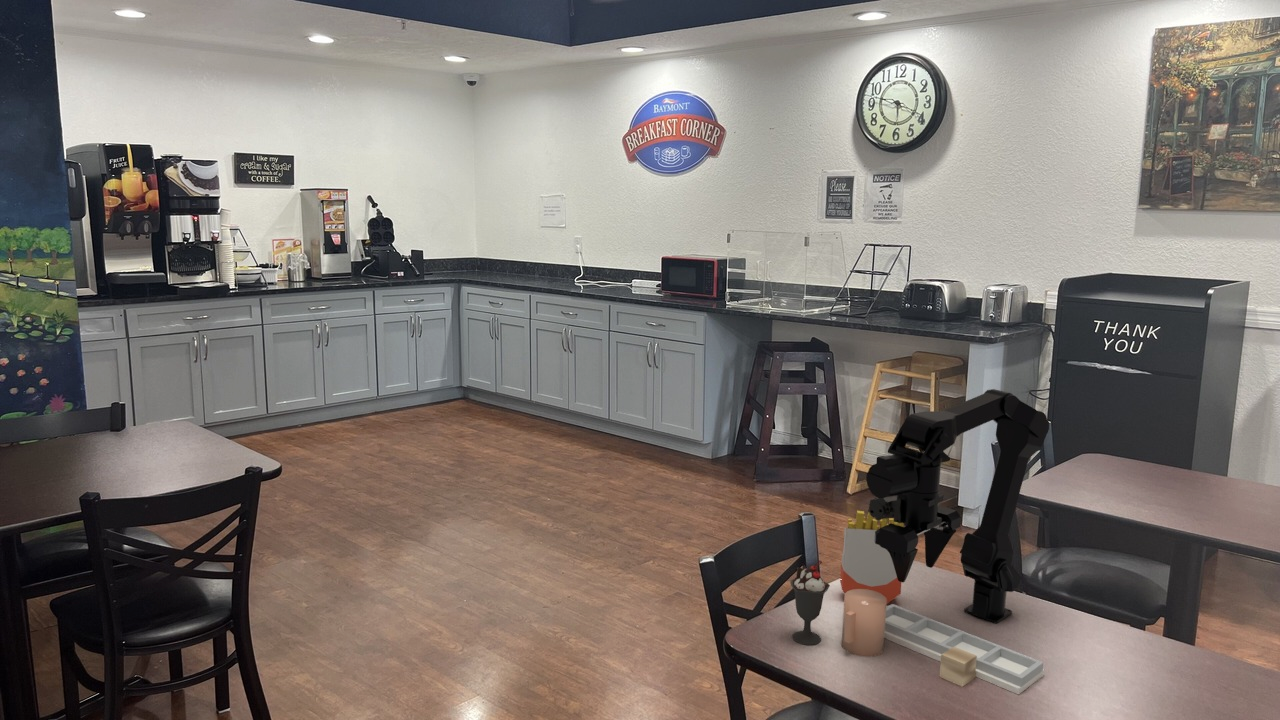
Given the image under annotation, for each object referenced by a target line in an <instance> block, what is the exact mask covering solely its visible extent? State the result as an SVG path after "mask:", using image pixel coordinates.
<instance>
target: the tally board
mask: <svg viewBox="0 0 1280 720" xmlns="http://www.w3.org/2000/svg"><path fill="white" fill-rule="evenodd" d="M885 639H886V640H888V641H890V642H892V643H895V644H898V645H900V646H903V647H905V648H906V649H909V650H912V651H914V652H916V653H919V654H920V655H921V654H922V655H924V656H925V657H928V658H931V659H933V660H935V661H937V662H939V663H941V654H943V653H944V652H946V651H948V650H949V649H951V648H952V647H956V648H959V649H961V650H964V651H966V652H969V653H971V654H974V655H976V656H977V660H976V671H975V678H978V679H981V680H983V681H985V682H988V683H991V684H993V685H995V686H996V687H997V686H998V687H999V688H1002V689H1004V690H1007V691H1009V692H1011V693H1013V694H1016V695H1020V694H1021V693H1022V692H1024V691H1025V690H1026V689H1027V688H1029V687H1031V686H1032V685H1033V684H1034V683H1036V682H1037V681H1039V680H1040V679H1041V678H1042V677H1044V675H1045V669H1044V661H1041V660H1038V659H1035V658H1033V657H1030V656H1028V655H1025V654H1023V653H1021V652H1018V651H1015V650H1013V649H1010V648H1007V647H1005V646H1003V645H1000V644H998V643H994V642H992V641H990V640H986V639H984V638H982V637H979V636H976V635H974V634H971V633H968V632H966V631H963V630H962V629H959V628H955V627H954V626H950V625H948V624H946V623H943V622H940V621H937V620H935V619H932V618H930V617H928V616H925V615H922V614H920V613H917V612H914V611H913V610H909V609H907V608H904V607H901V606H900V605H896V604H893V603H891V604H890V605H886V619H885V633H884V640H885Z"/></svg>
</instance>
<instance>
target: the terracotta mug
mask: <svg viewBox="0 0 1280 720" xmlns="http://www.w3.org/2000/svg"><path fill="white" fill-rule="evenodd" d="M843 599H844V601H843V614H842V616H843V617H842V631H841V632H842V634H841V647H842V649H843V650H845V651H846V652H847V651H848V653H849V652H850V653H849V654H851V655H854V656H859V657H865V658H866V657H867V658H870V657H871V656H872V657H876V656H880V655H881V654H882V653H883V652H884V648H885V647H884V645H885V643H884V642H885V638H884V633H885V619H886V607H887V604H888V603H887V599H886V597H885V596H884V595H882V594H881V593H878V592H876V591H873V590H868V589H853V590H849V591H847V592H846V593H845V592H844V598H843ZM872 657H871V658H872Z"/></svg>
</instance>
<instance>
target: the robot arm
mask: <svg viewBox="0 0 1280 720" xmlns="http://www.w3.org/2000/svg"><path fill="white" fill-rule="evenodd" d="M991 421H993V422H995V424H997V425H996V428H995V429H996V431H995V437H996V440H997V444H998V449H999V454H998V459H997V463H996V467H995V469H994V473H993V477H992V481H991V485H990V488H989V492H988V496H987V500H986V502H985V503H986V504H985V507H984V511H983V514H982V517H981V518H982V519H981V522H980V524H979V527H977V529H975V530H974V531H973V532H972V533H970V532H966V534H965V535H964V536H963V537H964V539H963V544H962V548H961V549H960V551H959V554H960V563H961V565H962V569H963V574H964V576H965V577H966V578H967V577H968V578H970V579H972V580H974V581H973V583H974V584H973V591H972V603H971V604H970V605H968V606H966V607H964V608H963V609H964V610H963V611H964V612H965V613H967V614H969V615H973V616H975V617H978V618H981V619H983V620H986V621H988V622H992V623H995V624H996V623H999V622H1001V621H1003V620H1004V619H1006V618H1007V617H1010V615H1012V614H1013V610H1011V609H1009V608H1006V600H1007V592H1009V593H1012V592H1015V589H1017V588H1019V585H1020V582H1021V579H1022V576H1021V575H1020V573H1019V572H1018V571H1017V570H1016V568H1015V567H1014V566H1013V565H1012V561H1013V554H1014V549H1013V547H1012V543H1011V540H1010V536H1009V534H1010V533H1009V532H1010V529H1011V526H1012V522H1013V518H1014V514H1015V511H1016V507H1017V503H1018V500H1019V496H1020V493H1021V489H1022V486H1023V485H1022V484H1023V482H1024V478H1025V474H1026V471H1027V466H1028V463H1029V459H1030V458H1032V456H1034V455H1035V454H1036V453H1037V452H1038V451H1039V450H1040V449H1041V448H1042V447H1043V445H1044V442H1045V440H1046V437H1047V434H1048V433H1049V430H1050V421H1049V420H1048V418H1047V415H1046V414H1045V413H1044V411H1043V412H1042V411H1040V410H1037V409H1035V408H1033V407H1032V406H1030V405H1028V403H1025V402H1024V401H1022V400H1020V399H1019V398H1018V397H1017V396H1016V395H1014V394H1013V393H1011V392H1007V391H1004V390H1000V389H995V388H993V389H987V390H986V391H984V393H982V394H980V395H977V396H975V397H971V399H968V400H966V401H964V402H963V401H962V402H960V403H959V404H956V405H954V406H951V407H948V408H946V409H944V410H939V411H934V410H933V411H930V410H929V411H928V410H927V411H919V412H914V413H911V414H909V415H908V416H907V417H906V418H905V419H904V421H903V423H902V425H901V426H900V428H899V430H898V431H897V433H896V435H895V437H894V439H893V440H892V442H891V444H890V446H889V447H888V449H887V453H888V454H891V455H880V456H877V457H876V463H874V464H872V465H871V466H870V467H869V468H868V471H867V472H866V474H865V476H866V477H865V480H866V484H867V487H868V490H869V491H870V493H871V494H872V496H874V497H873V498H871V499H869V504H868V511H867V513H868V512H869V513H870V515H871V516H872V518H874V519H875V520H877V521H880V520H881V519H886V518H887V519H889V518H893V519H894V522H896V523H904V527H901V526H898V525H895V524H892V523H890V524H889V523H887V524H888V525H886V526H884V527H881V528H880V527H879V529H878V530H877V531H875V540H874V542H875V544H878V545H880V547H882V548H885V549H886V550H887V551H888V552H889V553H890V556H891V558H892V561H893V565H894V568H895V572H896V575H897V579H898V581H900V582H901V583H905V582H906V580H907V578H908V575H909V573H910V570H911V568H912V565H913V564H914V561H915V558H916V555H917V553H918V551H919V549H918V548H917V546H918V544H919V536H920V535H922V534H923V535H924V551H925V553H924V554H925V566H926V567H927V568H930V569H931V568H933V567H934V566H935V564H936V563H937V561H938V559H939V557H940V555H941V554H942V552H943V551H944V550H945V548H946V546H947V545H948V543H949V541H950V540H951V539H952V537H953V536H954V534H956V533H957V529H958V528H960V527H961V522H962V521H961V520H962V516H961V515H960V513H959V512H958V510H956V509H953V508H949V507H945V506H941V505H939V503H941V502H943V501H944V494H940V481H941V468H942V467H941V465H942V463H948V462H950V461H951V457H950V456H949V455H947V453H946V452H945V451H946V450H948V449H949V448H950V447H951V446H953V445H954V444H955V442H956V440H957V437H958V436H960V435H962V434H964V433H966V432H968V431H971V430H973V429H976V428H978V427H980V426H983V425H984V424H986V423H989V422H991ZM909 447H911V448H909ZM915 449H918V450H920V451H918V450H915ZM921 451H922V452H921Z"/></svg>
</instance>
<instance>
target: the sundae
mask: <svg viewBox="0 0 1280 720" xmlns="http://www.w3.org/2000/svg"><path fill="white" fill-rule="evenodd" d="M821 564H823V561H822V560H818V562H816V564H814V565H811V566H810V567H806V568H803V567H796V577H794V579H791V580H790V583H789V584H790V586H791V588H792V589H793V590H794V600H795V609H796V613H797V615H798V616H799V617H800V618H801V619H802V620H803V621H804V622H803V624H804V626H803V629H802V630H798V631H795V632H794V633H793V634H792V640H794V641H795V642H796V643H797V644H801V645H806V646H815V645H817V644H819V643H820V642H821V641H822V638H821V636H820V635H819V634H818V633H815V632H813V631H812V627H811V626H812V625H811V624H812V622H813V620H816V619H817V618H818V617H819V616H820V613H821V611H822V610H821V609H822V605H823V600H824V596H825V593H827V592H828V589H829V588H830V587H831V585H830V584H829V583H828V582H826V581H824V579H822V577H821V574H820V572H819V571H818V566H819V565H821Z"/></svg>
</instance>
